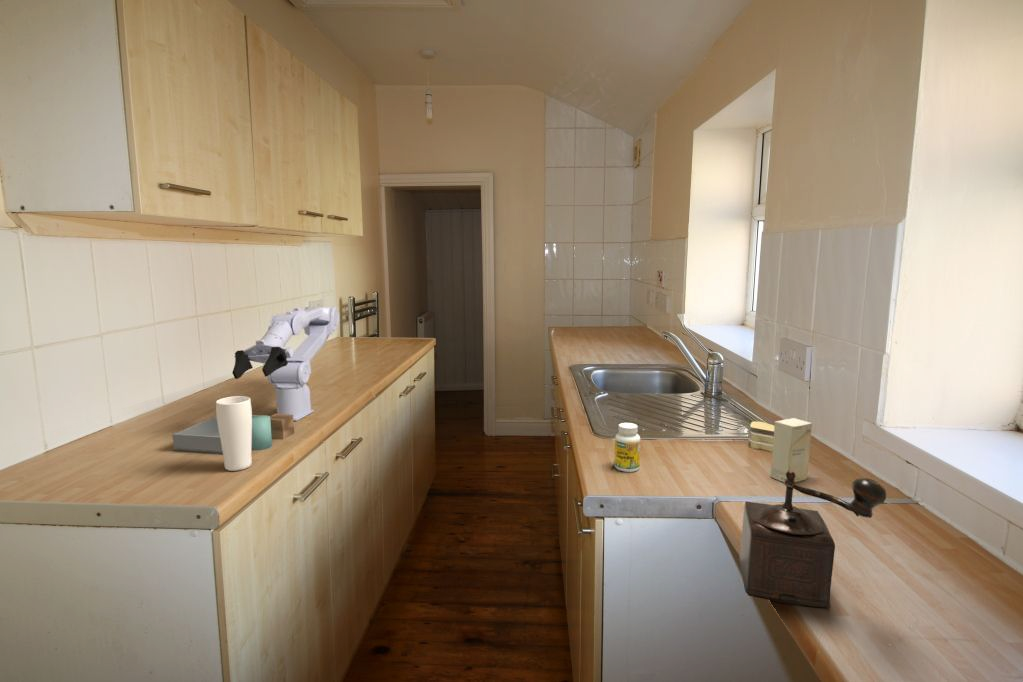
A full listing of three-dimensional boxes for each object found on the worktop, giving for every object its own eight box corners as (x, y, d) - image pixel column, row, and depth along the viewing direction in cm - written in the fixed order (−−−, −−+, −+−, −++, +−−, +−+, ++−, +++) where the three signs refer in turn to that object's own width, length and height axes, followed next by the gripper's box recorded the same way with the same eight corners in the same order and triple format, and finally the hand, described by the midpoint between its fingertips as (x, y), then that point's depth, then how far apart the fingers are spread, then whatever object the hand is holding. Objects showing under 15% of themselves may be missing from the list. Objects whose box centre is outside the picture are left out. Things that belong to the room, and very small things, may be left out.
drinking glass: (262, 461, 122) (257, 396, 120) (244, 474, 116) (239, 404, 113) (233, 460, 123) (227, 395, 121) (213, 472, 116) (208, 403, 114)
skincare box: (788, 485, 111) (793, 427, 109) (768, 477, 115) (773, 421, 113) (808, 479, 114) (813, 422, 112) (788, 471, 118) (793, 417, 116)
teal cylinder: (257, 442, 135) (255, 414, 134) (276, 443, 134) (274, 415, 133) (244, 449, 130) (242, 421, 129) (264, 450, 129) (262, 422, 128)
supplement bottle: (641, 465, 121) (643, 423, 120) (636, 474, 116) (638, 430, 115) (617, 461, 123) (618, 420, 122) (611, 470, 119) (613, 427, 117)
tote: (223, 427, 146) (222, 413, 145) (269, 430, 144) (268, 415, 143) (174, 450, 129) (172, 434, 128) (225, 454, 127) (223, 437, 126)
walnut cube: (276, 432, 143) (275, 413, 142) (294, 433, 142) (293, 414, 141) (264, 438, 138) (263, 419, 137) (283, 439, 137) (282, 420, 136)
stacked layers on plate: (791, 448, 133) (793, 426, 132) (777, 458, 127) (779, 435, 126) (749, 438, 140) (750, 417, 139) (734, 447, 134) (735, 425, 133)
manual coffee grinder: (745, 599, 75) (755, 473, 72) (738, 556, 85) (746, 445, 82) (877, 621, 70) (893, 488, 67) (852, 574, 81) (865, 456, 78)
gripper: (240, 332, 143) (214, 363, 132) (293, 327, 141) (272, 358, 130) (251, 354, 147) (227, 386, 135) (302, 350, 145) (282, 382, 134)
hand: (249, 374), depth 133 cm, fingers open, 7 cm apart
